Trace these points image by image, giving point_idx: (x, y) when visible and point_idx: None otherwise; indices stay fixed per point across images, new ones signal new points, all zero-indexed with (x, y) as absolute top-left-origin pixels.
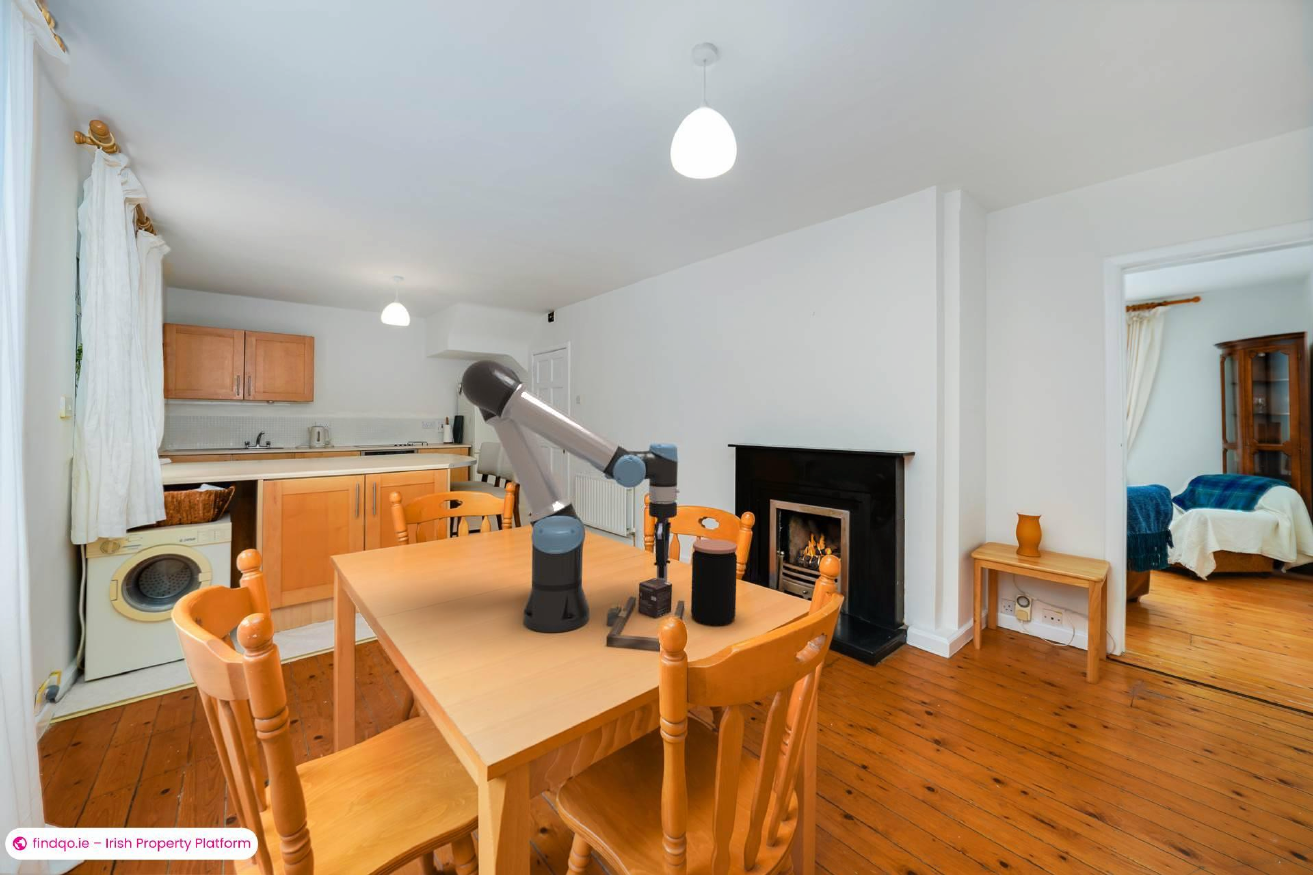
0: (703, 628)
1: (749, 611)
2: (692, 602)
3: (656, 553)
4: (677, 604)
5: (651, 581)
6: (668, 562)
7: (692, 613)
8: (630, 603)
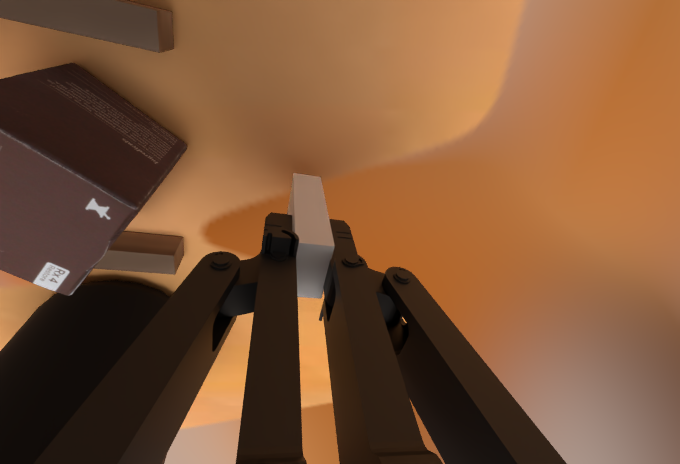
0: (17, 302)
1: (210, 389)
2: (47, 322)
3: (143, 339)
4: (124, 251)
5: (36, 189)
6: (321, 310)
7: None
8: (31, 9)
